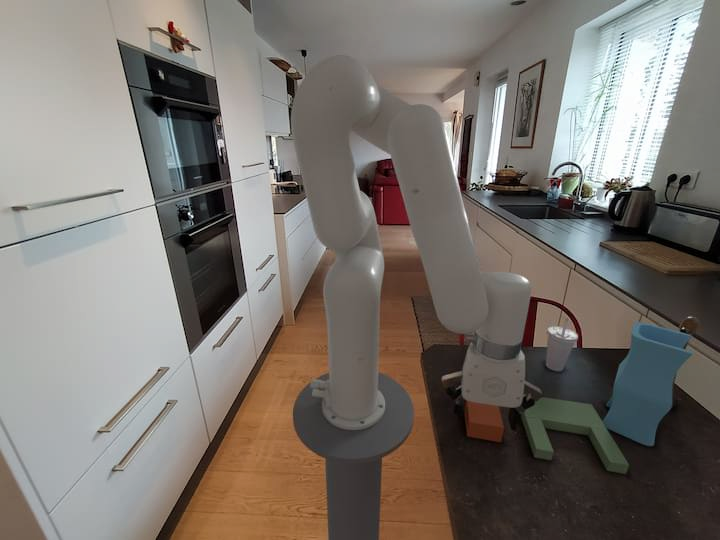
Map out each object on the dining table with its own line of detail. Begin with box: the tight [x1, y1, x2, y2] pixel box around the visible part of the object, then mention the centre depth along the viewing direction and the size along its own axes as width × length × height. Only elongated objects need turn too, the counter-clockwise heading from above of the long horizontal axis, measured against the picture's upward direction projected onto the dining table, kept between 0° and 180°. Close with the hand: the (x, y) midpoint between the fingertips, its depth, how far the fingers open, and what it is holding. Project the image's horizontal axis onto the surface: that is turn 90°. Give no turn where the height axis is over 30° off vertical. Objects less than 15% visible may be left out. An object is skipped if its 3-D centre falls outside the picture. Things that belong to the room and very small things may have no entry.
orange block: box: [464, 400, 505, 443], centre depth 62 cm, size 6×6×4 cm
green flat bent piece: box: [521, 393, 630, 475], centre depth 61 cm, size 14×14×2 cm
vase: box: [602, 321, 694, 447], centre depth 60 cm, size 8×8×20 cm
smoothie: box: [545, 316, 579, 372], centre depth 78 cm, size 6×6×14 cm
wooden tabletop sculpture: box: [671, 316, 701, 409], centre depth 66 cm, size 6×5×20 cm
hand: (484, 420), depth 62 cm, fingers open, 9 cm apart
